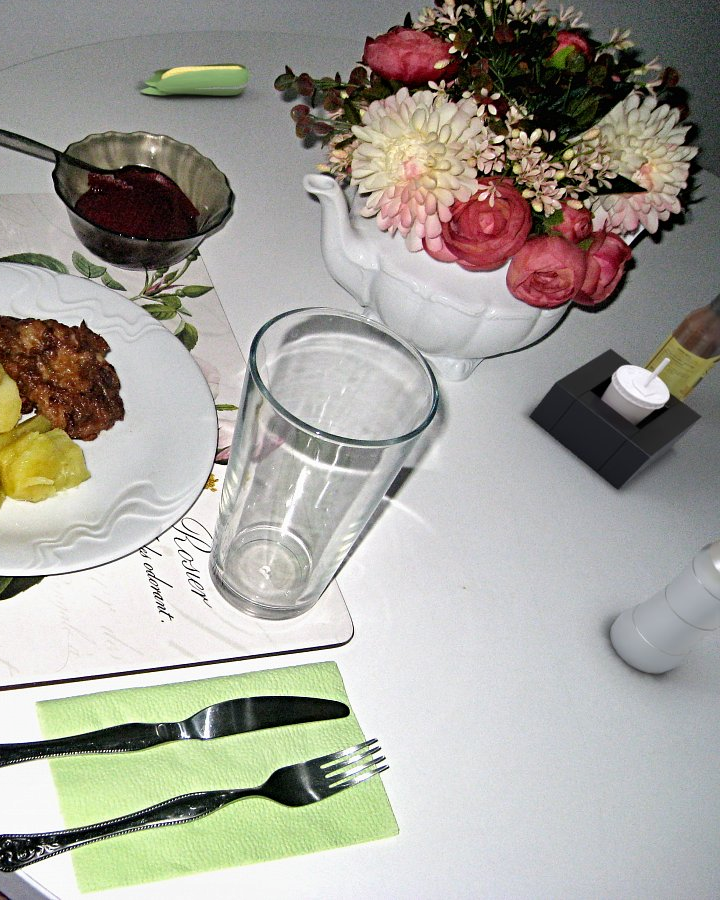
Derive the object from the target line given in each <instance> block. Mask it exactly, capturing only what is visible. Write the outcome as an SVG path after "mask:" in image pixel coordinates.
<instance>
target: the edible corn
mask: <svg viewBox="0 0 720 900" xmlns="http://www.w3.org/2000/svg"><path fill="white" fill-rule="evenodd" d="M152 73H153V74H154V76H152V77H151V76H150V77H148V78H147V79H146V80H145V81H144V82H143V83H144V84H146V85H147V86H148V87H145V88H143V89H141V90H140V91H139V93H142V94H148V95H156V96H174V95H193V96H214V97H215V96H217V97H222V96H223V97H225V96H226V97H229V96H231V97H232V96H238V95H240V94H241V93H243V92H244V91H245V90H246V89H247V88H248V85H247V86H246V87H244V88H239V89H198V88H209V87H210V88H213V87H235V86H236V87H237V86H240V85H244V84H246V83H247V82H248V83H249V81H248V78H251V79H252V75H251V73H249V68H247V67H246V66H245V65H244V64H242V63H241V64H240V63H235V62H234V63H233V62H225V63H224V62H223V63H212V64H203V65H193V66H180V67H173V68H164V69H163V68H162V69H158V70H155V71H153V72H152ZM196 88H197V89H196Z"/></svg>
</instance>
